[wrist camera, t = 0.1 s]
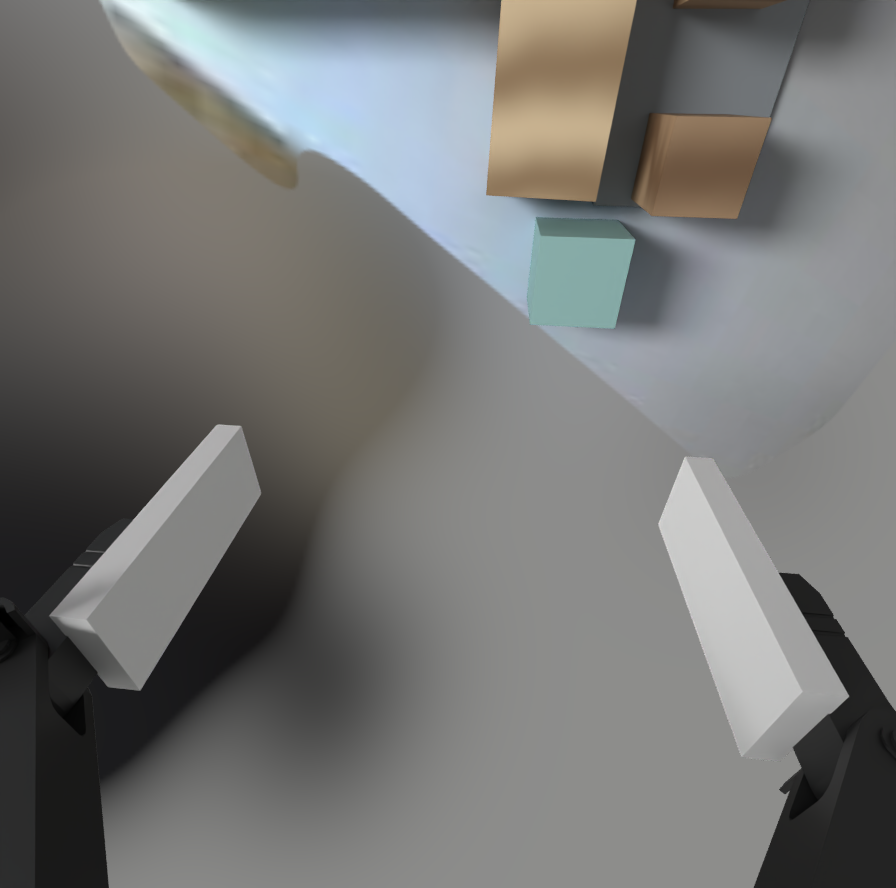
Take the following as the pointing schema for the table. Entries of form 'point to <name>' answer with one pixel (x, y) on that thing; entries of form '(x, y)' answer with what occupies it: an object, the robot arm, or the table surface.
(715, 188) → the pillar
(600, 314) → the cube
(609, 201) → the mat
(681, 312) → the table surface
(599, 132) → the lintel
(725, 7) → the pillar
